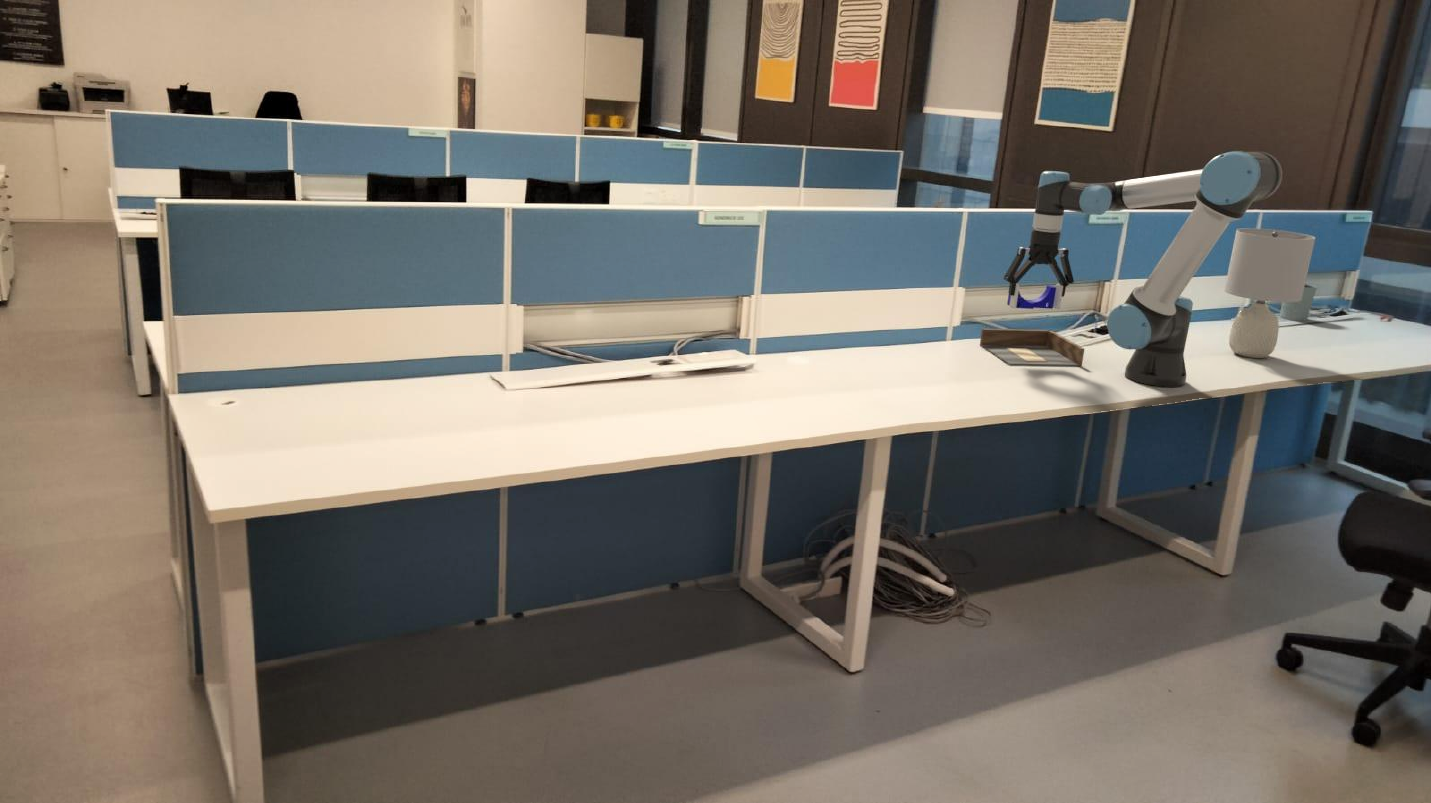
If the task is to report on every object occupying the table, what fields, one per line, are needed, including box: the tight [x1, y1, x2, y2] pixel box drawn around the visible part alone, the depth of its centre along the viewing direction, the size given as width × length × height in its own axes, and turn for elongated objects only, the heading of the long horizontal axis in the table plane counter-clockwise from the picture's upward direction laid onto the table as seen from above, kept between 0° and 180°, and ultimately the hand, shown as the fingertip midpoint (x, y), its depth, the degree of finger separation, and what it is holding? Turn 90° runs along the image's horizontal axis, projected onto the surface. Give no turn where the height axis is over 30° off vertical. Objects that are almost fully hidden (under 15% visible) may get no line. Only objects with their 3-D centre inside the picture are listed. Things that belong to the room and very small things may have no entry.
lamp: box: [1224, 227, 1316, 359], centre depth 305 cm, size 20×20×37 cm
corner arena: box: [979, 328, 1085, 367], centre depth 296 cm, size 21×21×5 cm
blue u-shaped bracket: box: [1007, 284, 1056, 310], centre depth 290 cm, size 12×4×6 cm, turn 92°
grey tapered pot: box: [1279, 283, 1318, 322], centre depth 365 cm, size 10×10×12 cm
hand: (1034, 307), depth 288 cm, fingers closed on blue u-shaped bracket, 12 cm apart
